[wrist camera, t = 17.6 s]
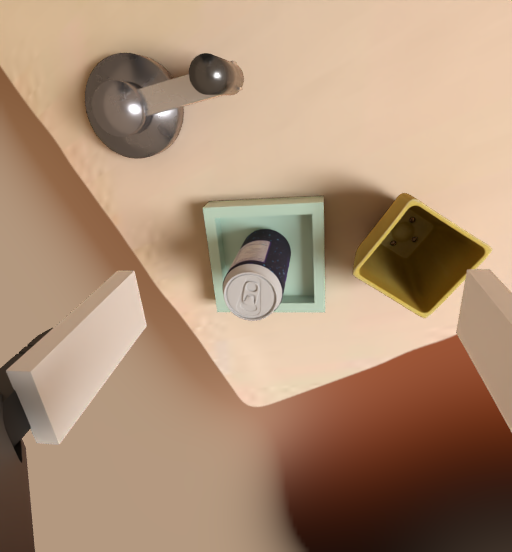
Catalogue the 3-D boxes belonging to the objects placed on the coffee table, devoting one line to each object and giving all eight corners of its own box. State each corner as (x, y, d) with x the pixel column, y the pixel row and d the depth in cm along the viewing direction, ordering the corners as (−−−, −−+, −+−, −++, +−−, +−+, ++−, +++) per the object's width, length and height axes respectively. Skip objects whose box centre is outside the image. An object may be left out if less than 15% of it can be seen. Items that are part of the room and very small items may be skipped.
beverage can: (240, 266, 47) (215, 317, 36) (247, 221, 45) (223, 261, 34) (286, 276, 47) (275, 330, 36) (296, 231, 44) (287, 275, 33)
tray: (209, 201, 45) (202, 207, 43) (323, 195, 43) (323, 202, 40) (222, 300, 50) (217, 312, 48) (325, 300, 48) (325, 312, 46)
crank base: (84, 60, 41) (72, 58, 39) (175, 49, 39) (166, 47, 37) (107, 158, 45) (97, 161, 43) (190, 152, 43) (183, 155, 41)
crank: (117, 139, 42) (69, 149, 34) (99, 88, 40) (44, 86, 32) (251, 103, 38) (232, 104, 30) (238, 46, 36) (214, 31, 28)
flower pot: (407, 281, 46) (426, 321, 38) (345, 242, 45) (350, 274, 37) (462, 220, 42) (495, 250, 34) (395, 176, 41) (412, 196, 33)
